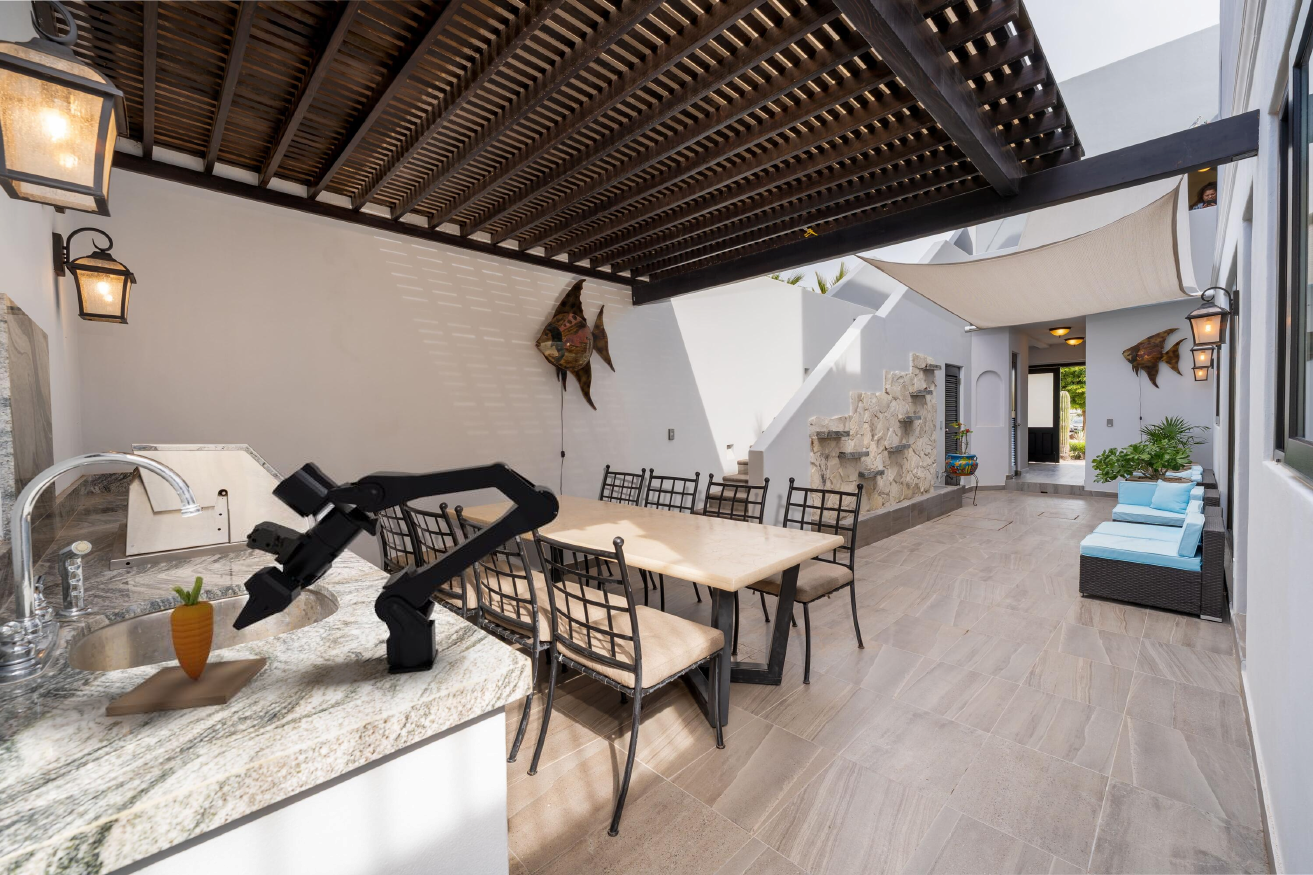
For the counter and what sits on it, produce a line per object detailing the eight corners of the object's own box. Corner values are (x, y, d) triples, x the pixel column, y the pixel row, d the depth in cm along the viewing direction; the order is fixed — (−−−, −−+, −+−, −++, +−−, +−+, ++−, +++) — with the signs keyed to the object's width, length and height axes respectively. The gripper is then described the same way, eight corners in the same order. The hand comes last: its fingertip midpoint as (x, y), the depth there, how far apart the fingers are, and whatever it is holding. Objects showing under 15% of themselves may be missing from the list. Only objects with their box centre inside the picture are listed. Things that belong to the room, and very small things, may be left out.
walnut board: (266, 664, 89) (266, 657, 89) (226, 703, 77) (226, 694, 77) (164, 674, 86) (164, 666, 86) (106, 716, 74) (105, 707, 74)
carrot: (179, 691, 78) (174, 586, 77) (168, 681, 81) (163, 580, 80) (222, 677, 82) (217, 577, 81) (210, 668, 85) (206, 572, 84)
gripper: (307, 494, 92) (234, 565, 90) (257, 514, 74) (164, 604, 72) (361, 537, 95) (291, 607, 92) (326, 567, 77) (238, 655, 74)
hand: (250, 616), depth 83 cm, fingers open, 9 cm apart
